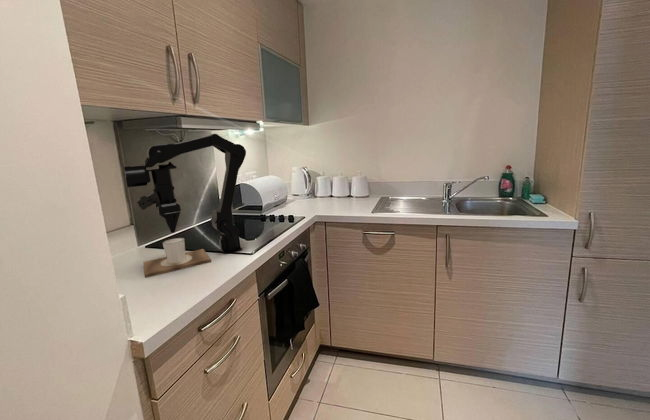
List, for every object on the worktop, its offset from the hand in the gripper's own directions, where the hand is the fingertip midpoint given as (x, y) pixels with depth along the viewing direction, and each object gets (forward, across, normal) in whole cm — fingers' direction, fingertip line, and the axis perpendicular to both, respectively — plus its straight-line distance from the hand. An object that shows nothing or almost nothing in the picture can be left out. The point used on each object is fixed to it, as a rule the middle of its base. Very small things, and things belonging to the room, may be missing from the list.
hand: (171, 229), depth 110 cm
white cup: (+11, 0, 0) cm, 11 cm away
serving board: (+12, 0, 0) cm, 12 cm away
